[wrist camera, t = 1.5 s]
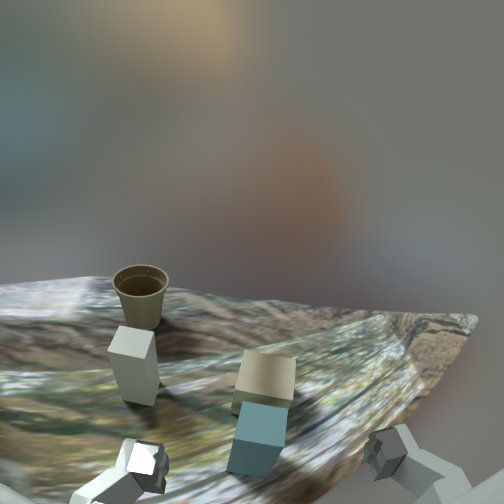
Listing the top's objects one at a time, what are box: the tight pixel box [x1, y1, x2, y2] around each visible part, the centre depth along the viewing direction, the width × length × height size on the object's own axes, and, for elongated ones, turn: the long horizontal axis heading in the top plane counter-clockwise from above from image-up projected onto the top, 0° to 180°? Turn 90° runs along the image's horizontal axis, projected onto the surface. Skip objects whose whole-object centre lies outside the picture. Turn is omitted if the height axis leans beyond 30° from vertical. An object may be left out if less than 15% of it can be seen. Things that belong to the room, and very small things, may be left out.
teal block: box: [226, 401, 288, 478], centre depth 25 cm, size 4×4×10 cm
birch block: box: [230, 350, 296, 415], centre depth 35 cm, size 7×7×6 cm
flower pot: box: [112, 265, 169, 331], centre depth 45 cm, size 9×9×9 cm
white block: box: [108, 326, 160, 406], centre depth 32 cm, size 4×4×10 cm
